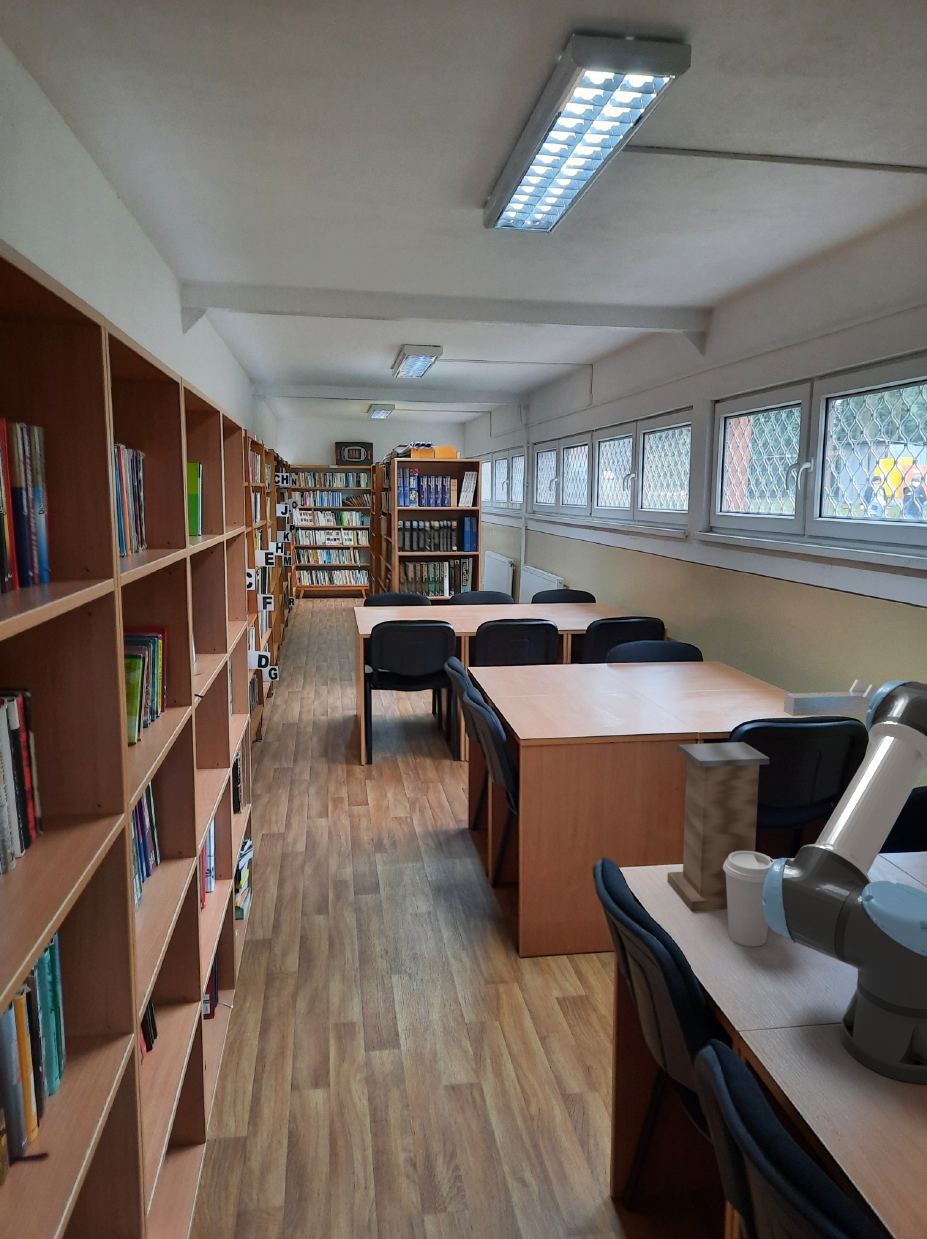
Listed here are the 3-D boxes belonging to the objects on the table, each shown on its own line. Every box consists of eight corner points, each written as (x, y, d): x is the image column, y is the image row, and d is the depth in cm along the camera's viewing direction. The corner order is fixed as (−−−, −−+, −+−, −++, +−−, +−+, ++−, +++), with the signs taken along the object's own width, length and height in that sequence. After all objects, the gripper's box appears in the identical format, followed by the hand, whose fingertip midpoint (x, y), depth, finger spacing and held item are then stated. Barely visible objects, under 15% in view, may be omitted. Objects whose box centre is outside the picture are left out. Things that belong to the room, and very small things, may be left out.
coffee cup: (769, 956, 146) (773, 875, 144) (714, 942, 151) (717, 863, 149) (779, 932, 154) (783, 855, 152) (726, 919, 159) (729, 844, 157)
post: (739, 877, 177) (746, 740, 173) (769, 906, 164) (776, 759, 160) (667, 881, 175) (672, 743, 171) (691, 911, 162) (697, 762, 158)
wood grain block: (891, 707, 168) (892, 688, 167) (903, 712, 164) (905, 692, 163) (783, 711, 165) (784, 691, 165) (793, 716, 161) (794, 696, 161)
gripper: (970, 770, 160) (876, 715, 156) (913, 745, 177) (826, 694, 173) (991, 737, 160) (897, 680, 156) (931, 714, 177) (845, 663, 172)
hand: (860, 688), depth 164 cm, fingers closed on wood grain block, 4 cm apart
